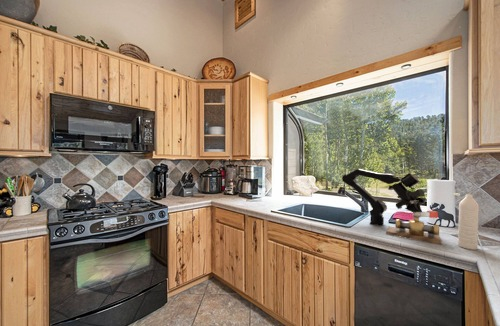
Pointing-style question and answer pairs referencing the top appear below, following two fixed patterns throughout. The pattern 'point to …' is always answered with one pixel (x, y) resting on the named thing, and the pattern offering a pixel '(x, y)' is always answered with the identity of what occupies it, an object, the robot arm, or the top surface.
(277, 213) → the top surface
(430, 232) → the valve body
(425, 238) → the valve board
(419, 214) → the valve lever
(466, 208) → the water bottle
